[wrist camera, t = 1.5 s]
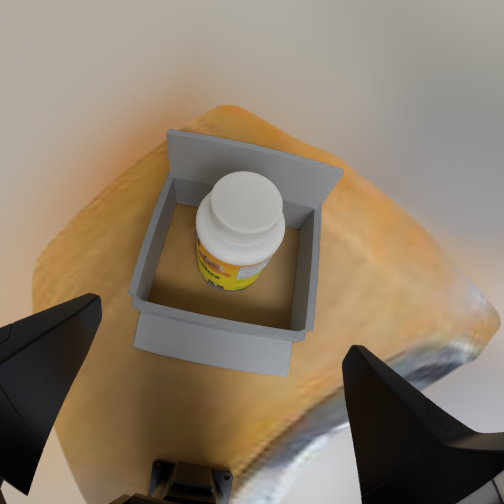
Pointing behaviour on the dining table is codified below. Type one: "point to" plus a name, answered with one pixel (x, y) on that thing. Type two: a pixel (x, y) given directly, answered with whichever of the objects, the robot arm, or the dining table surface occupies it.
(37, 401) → the robot arm
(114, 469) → the dining table surface
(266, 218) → the supplement bottle
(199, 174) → the carton
